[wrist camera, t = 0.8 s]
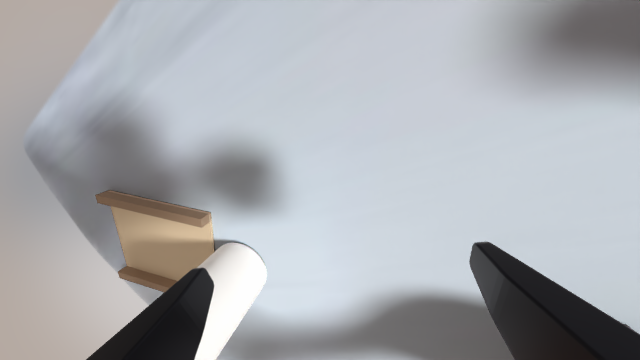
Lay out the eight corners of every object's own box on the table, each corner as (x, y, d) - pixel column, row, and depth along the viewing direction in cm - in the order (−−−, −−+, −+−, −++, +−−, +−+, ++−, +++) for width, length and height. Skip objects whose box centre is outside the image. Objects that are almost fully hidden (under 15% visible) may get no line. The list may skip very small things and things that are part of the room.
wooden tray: (210, 212, 26) (200, 219, 25) (219, 297, 30) (211, 307, 29) (109, 190, 29) (95, 195, 28) (130, 270, 33) (119, 277, 32)
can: (260, 297, 28) (178, 426, 17) (212, 271, 29) (106, 379, 18) (276, 258, 26) (191, 382, 15) (223, 230, 26) (105, 329, 15)
